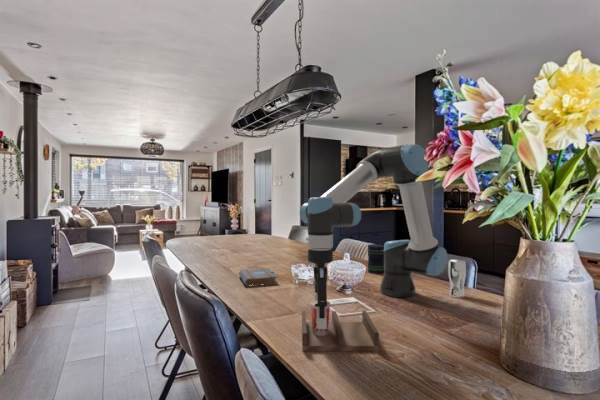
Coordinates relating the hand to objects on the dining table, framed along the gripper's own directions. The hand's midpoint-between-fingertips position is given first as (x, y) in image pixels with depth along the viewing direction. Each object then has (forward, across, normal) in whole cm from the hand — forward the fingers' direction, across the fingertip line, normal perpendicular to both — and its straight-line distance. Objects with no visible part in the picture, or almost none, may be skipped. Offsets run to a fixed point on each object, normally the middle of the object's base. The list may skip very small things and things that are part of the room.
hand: (320, 320), depth 103 cm
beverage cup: (+4, 0, 0) cm, 4 cm away
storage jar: (+5, -89, +37) cm, 97 cm away
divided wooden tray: (+5, 0, +5) cm, 7 cm away
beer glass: (+5, -43, +61) cm, 75 cm away
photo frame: (+6, -29, +12) cm, 32 cm away
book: (+6, -71, -28) cm, 76 cm away
